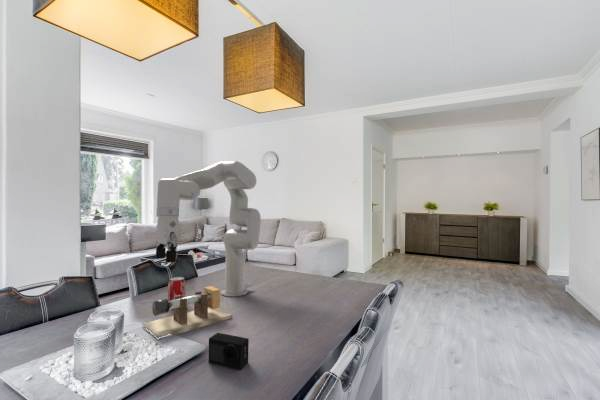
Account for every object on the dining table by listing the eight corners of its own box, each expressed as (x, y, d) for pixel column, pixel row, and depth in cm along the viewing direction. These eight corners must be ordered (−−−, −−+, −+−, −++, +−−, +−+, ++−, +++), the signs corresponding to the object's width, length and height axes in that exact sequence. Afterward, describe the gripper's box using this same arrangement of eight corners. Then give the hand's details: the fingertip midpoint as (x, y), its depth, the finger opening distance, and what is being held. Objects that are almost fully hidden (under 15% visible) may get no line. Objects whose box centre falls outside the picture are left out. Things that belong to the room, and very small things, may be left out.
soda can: (178, 310, 124) (179, 280, 124) (163, 308, 125) (164, 279, 126) (188, 304, 131) (189, 277, 131) (173, 303, 132) (174, 275, 133)
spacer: (210, 303, 122) (211, 285, 122) (219, 307, 117) (220, 289, 117) (203, 304, 119) (204, 287, 120) (212, 309, 115) (213, 291, 115)
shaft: (214, 299, 122) (214, 287, 122) (220, 301, 118) (220, 289, 118) (152, 313, 105) (152, 299, 105) (157, 317, 101) (157, 303, 101)
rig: (213, 308, 126) (214, 284, 127) (232, 317, 117) (232, 292, 117) (142, 326, 107) (143, 298, 107) (157, 339, 97) (157, 308, 97)
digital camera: (205, 365, 82) (205, 339, 83) (216, 356, 88) (217, 332, 88) (237, 373, 79) (238, 346, 79) (248, 363, 84) (248, 338, 84)
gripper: (188, 213, 105) (185, 262, 105) (169, 212, 118) (166, 256, 117) (166, 213, 100) (163, 264, 99) (148, 212, 112) (146, 258, 112)
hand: (165, 260), depth 108 cm, fingers open, 9 cm apart
